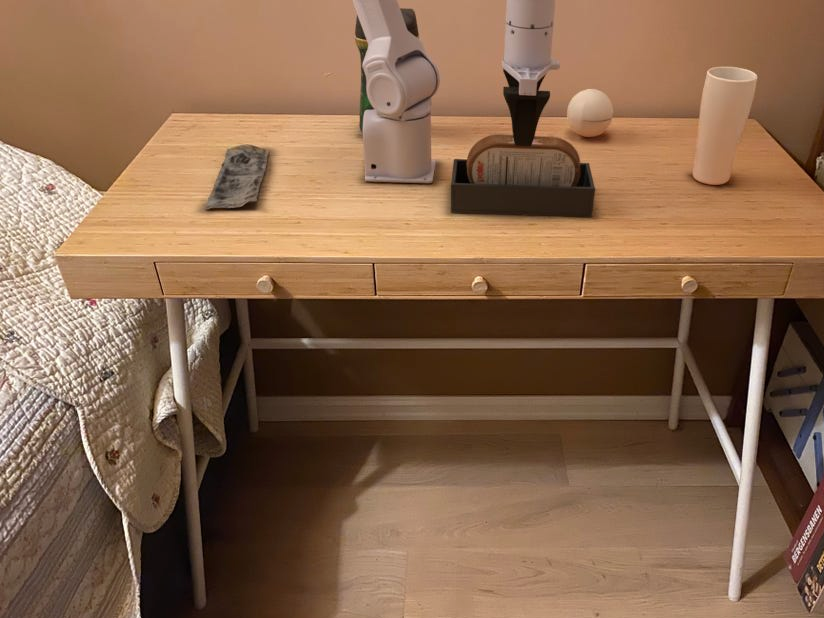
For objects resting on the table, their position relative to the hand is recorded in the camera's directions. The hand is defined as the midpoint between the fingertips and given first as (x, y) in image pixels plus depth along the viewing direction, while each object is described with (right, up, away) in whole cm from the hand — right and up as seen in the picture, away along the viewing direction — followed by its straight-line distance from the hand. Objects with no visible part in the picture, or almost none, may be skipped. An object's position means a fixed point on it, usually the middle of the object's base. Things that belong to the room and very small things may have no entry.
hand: (522, 133), depth 102 cm
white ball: (+13, +7, +25) cm, 29 cm away
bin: (0, -8, +5) cm, 9 cm away
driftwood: (-39, -4, +8) cm, 40 cm away
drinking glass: (+28, -3, +12) cm, 31 cm away
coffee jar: (-20, +7, +25) cm, 32 cm away
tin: (0, -8, +4) cm, 9 cm away
